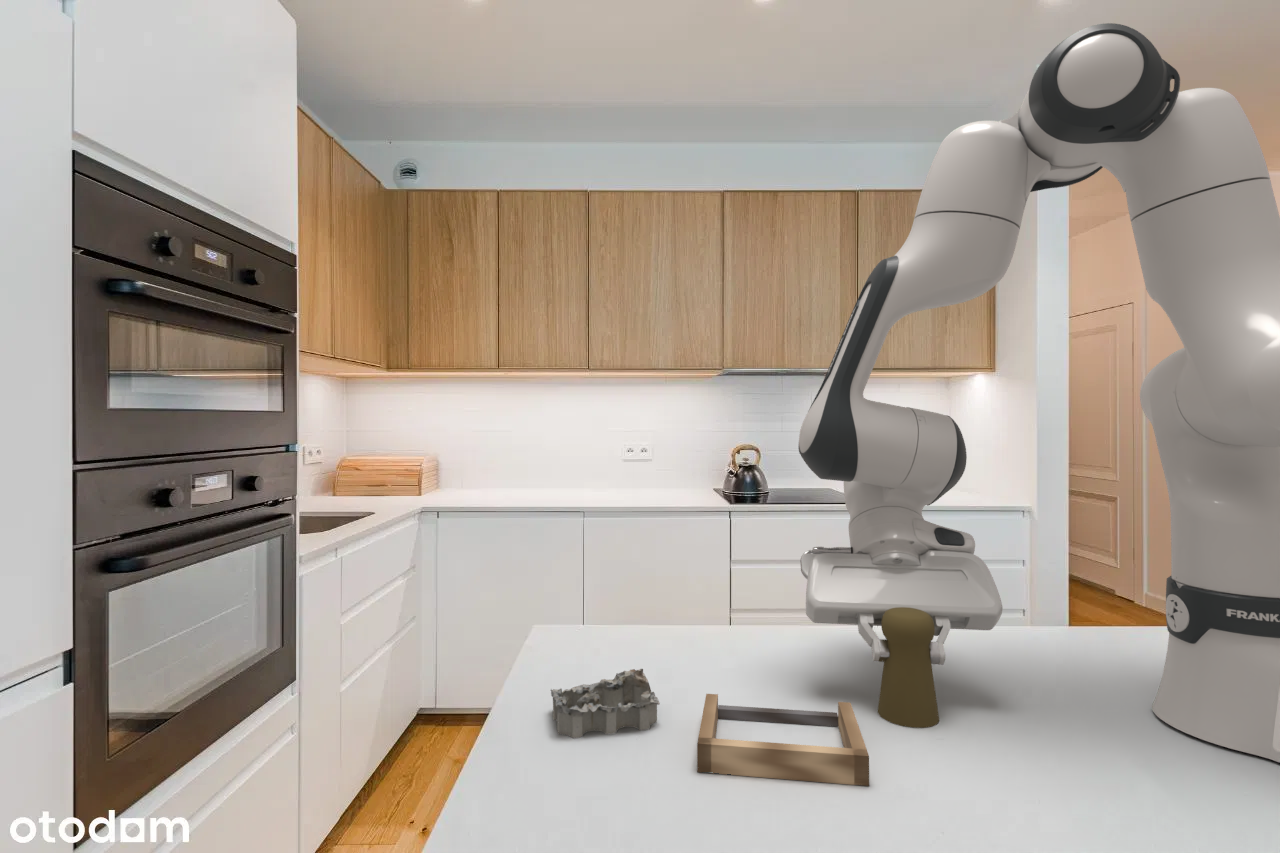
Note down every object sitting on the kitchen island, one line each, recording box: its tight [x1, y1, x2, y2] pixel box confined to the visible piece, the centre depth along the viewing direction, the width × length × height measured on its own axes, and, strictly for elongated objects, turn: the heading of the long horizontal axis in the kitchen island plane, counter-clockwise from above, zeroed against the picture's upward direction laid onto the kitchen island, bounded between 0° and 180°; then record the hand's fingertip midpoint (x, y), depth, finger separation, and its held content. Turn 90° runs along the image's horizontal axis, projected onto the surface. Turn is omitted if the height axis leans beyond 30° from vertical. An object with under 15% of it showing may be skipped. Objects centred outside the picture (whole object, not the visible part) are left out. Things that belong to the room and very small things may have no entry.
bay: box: [696, 693, 870, 787], centre depth 64 cm, size 14×12×2 cm
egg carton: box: [550, 668, 661, 739], centre depth 70 cm, size 11×8×4 cm
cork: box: [877, 607, 940, 729], centre depth 71 cm, size 6×6×11 cm
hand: (909, 660), depth 70 cm, fingers closed on cork, 4 cm apart
